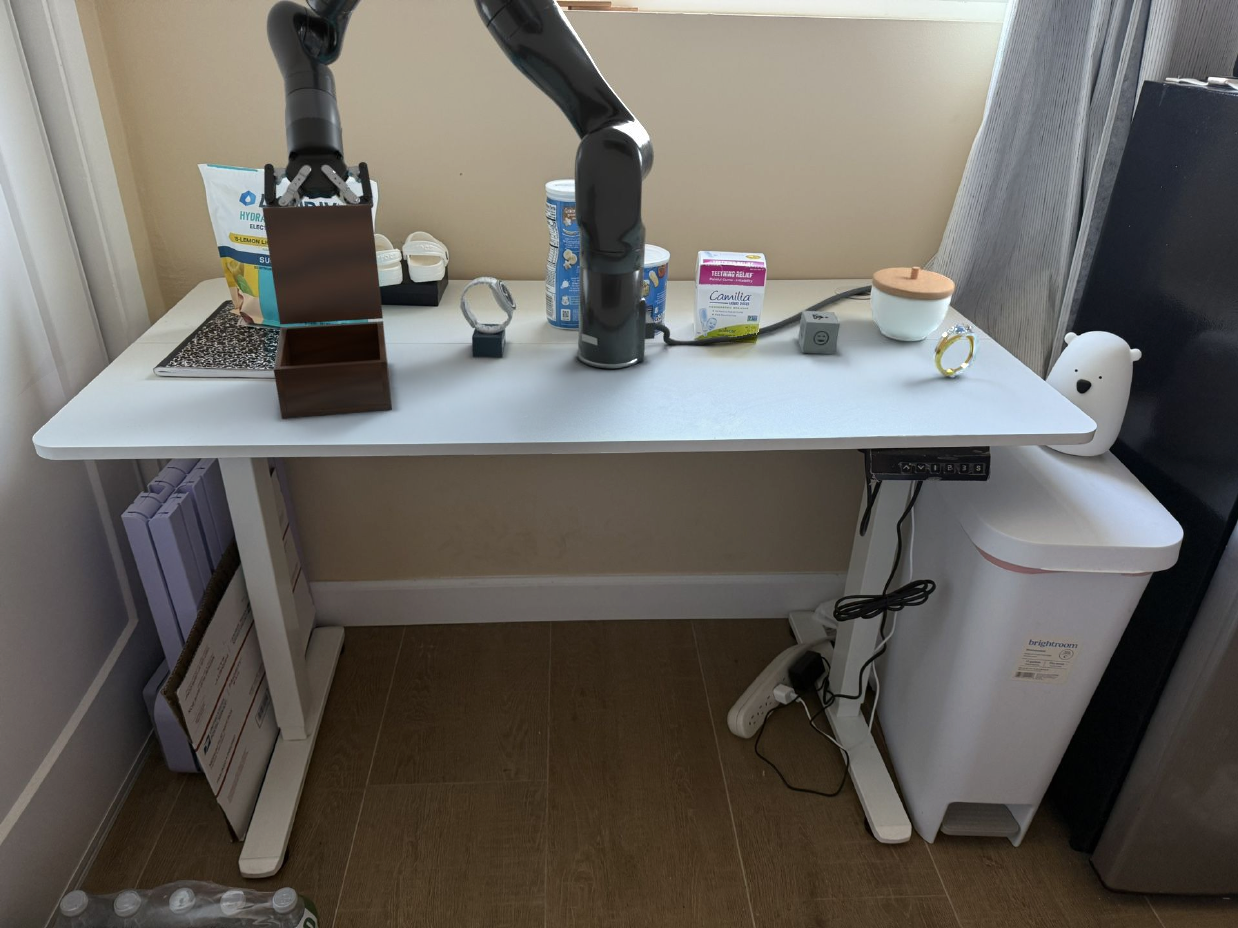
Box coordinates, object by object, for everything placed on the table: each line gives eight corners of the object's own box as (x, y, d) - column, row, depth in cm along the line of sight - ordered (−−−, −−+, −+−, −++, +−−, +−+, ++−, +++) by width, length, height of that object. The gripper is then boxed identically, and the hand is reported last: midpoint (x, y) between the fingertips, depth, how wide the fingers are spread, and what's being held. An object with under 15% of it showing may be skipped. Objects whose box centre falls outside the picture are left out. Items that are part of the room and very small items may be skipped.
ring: (965, 370, 134) (977, 319, 130) (977, 379, 132) (990, 327, 128) (923, 373, 133) (935, 322, 129) (935, 382, 130) (947, 330, 126)
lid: (371, 205, 119) (370, 199, 124) (262, 208, 115) (266, 202, 120) (382, 318, 125) (381, 308, 130) (280, 324, 122) (283, 314, 127)
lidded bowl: (863, 342, 143) (875, 275, 137) (863, 316, 153) (874, 252, 148) (945, 352, 140) (961, 283, 135) (940, 324, 151) (954, 260, 146)
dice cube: (797, 340, 142) (802, 310, 140) (829, 342, 142) (834, 312, 140) (802, 352, 138) (806, 322, 136) (834, 354, 138) (839, 323, 136)
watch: (515, 357, 133) (513, 286, 127) (461, 356, 133) (456, 284, 127) (518, 343, 138) (516, 273, 132) (466, 342, 137) (462, 272, 132)
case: (392, 409, 117) (386, 361, 113) (281, 418, 113) (273, 369, 110) (387, 365, 129) (383, 320, 126) (288, 372, 126) (280, 327, 122)
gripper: (255, 115, 122) (263, 222, 118) (364, 114, 125) (374, 218, 121) (265, 148, 129) (272, 250, 125) (367, 147, 132) (377, 246, 128)
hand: (322, 234), depth 123 cm, fingers open, 8 cm apart
